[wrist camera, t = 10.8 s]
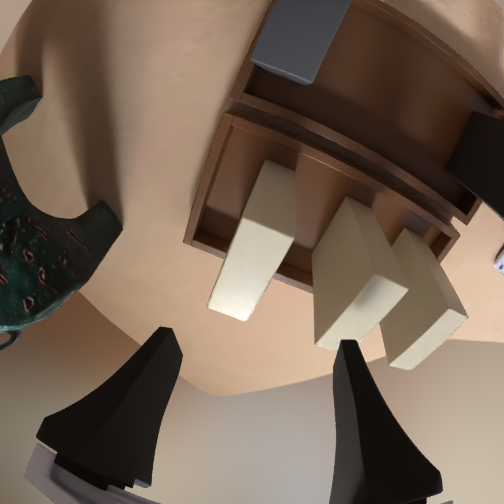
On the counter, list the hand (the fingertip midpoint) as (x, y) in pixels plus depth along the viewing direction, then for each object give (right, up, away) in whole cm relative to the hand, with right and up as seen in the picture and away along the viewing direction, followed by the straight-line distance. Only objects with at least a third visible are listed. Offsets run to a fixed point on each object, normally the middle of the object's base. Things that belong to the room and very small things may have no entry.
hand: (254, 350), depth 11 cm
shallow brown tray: (+5, +6, +7) cm, 11 cm away
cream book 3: (+10, +4, +7) cm, 13 cm away
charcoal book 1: (+3, +16, +1) cm, 16 cm away
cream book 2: (+6, +6, +7) cm, 11 cm away
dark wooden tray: (+8, +14, +1) cm, 16 cm away
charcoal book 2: (+14, +11, +2) cm, 18 cm away
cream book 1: (+1, +8, +6) cm, 10 cm away
